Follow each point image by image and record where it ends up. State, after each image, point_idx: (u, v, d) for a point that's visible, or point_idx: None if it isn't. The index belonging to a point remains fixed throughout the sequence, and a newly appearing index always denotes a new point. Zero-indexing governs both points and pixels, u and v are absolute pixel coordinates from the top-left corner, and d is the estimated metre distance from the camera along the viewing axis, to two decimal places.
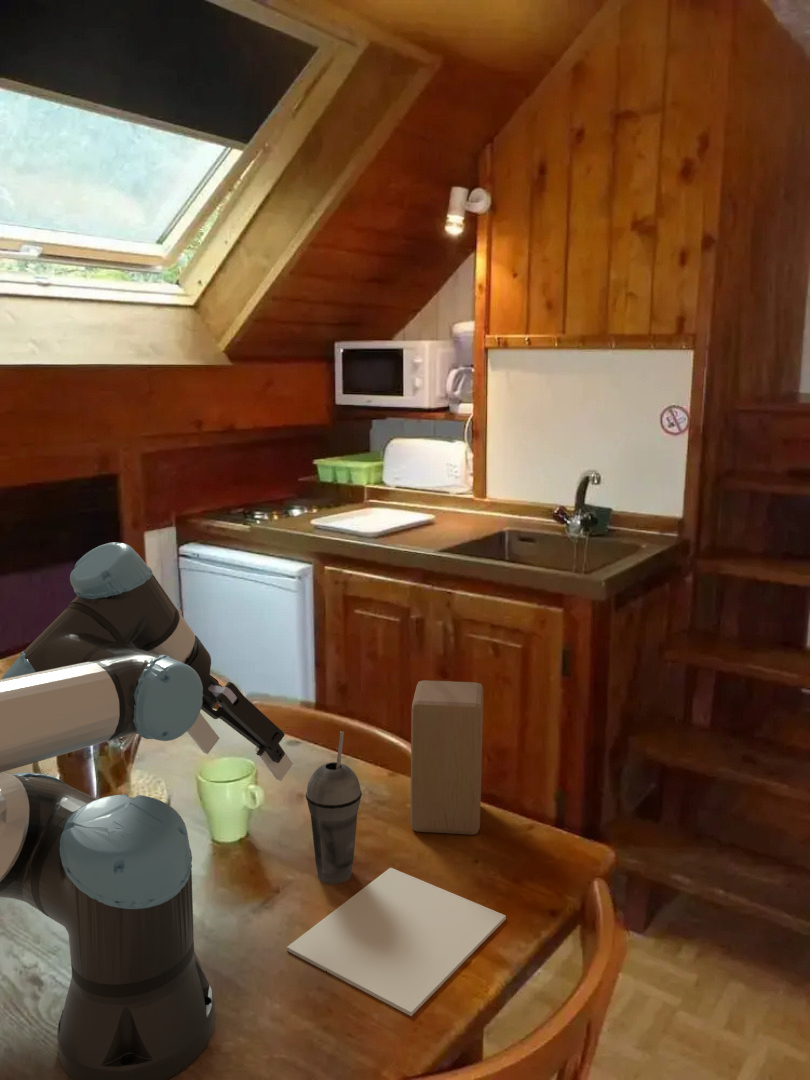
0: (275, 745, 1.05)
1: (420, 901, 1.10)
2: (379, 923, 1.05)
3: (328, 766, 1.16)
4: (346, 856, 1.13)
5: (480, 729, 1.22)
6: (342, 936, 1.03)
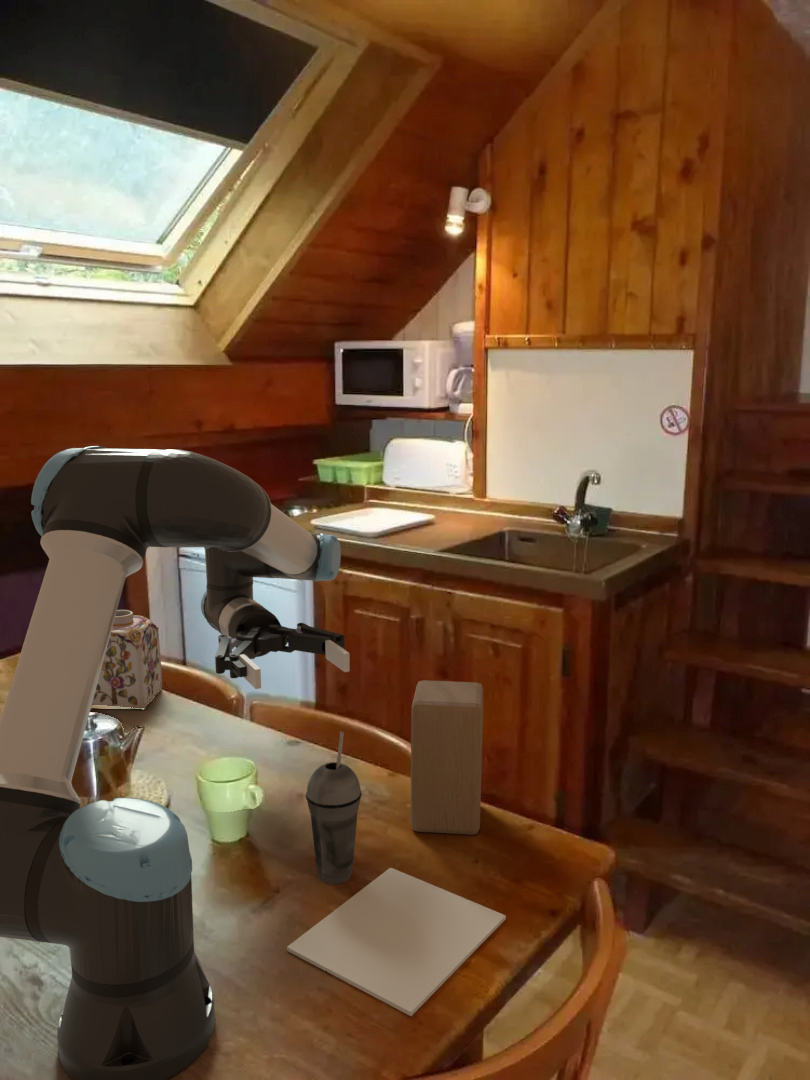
0: None
1: (420, 901, 1.10)
2: (379, 923, 1.05)
3: (328, 766, 1.16)
4: (346, 856, 1.13)
5: (480, 729, 1.22)
6: (342, 936, 1.03)
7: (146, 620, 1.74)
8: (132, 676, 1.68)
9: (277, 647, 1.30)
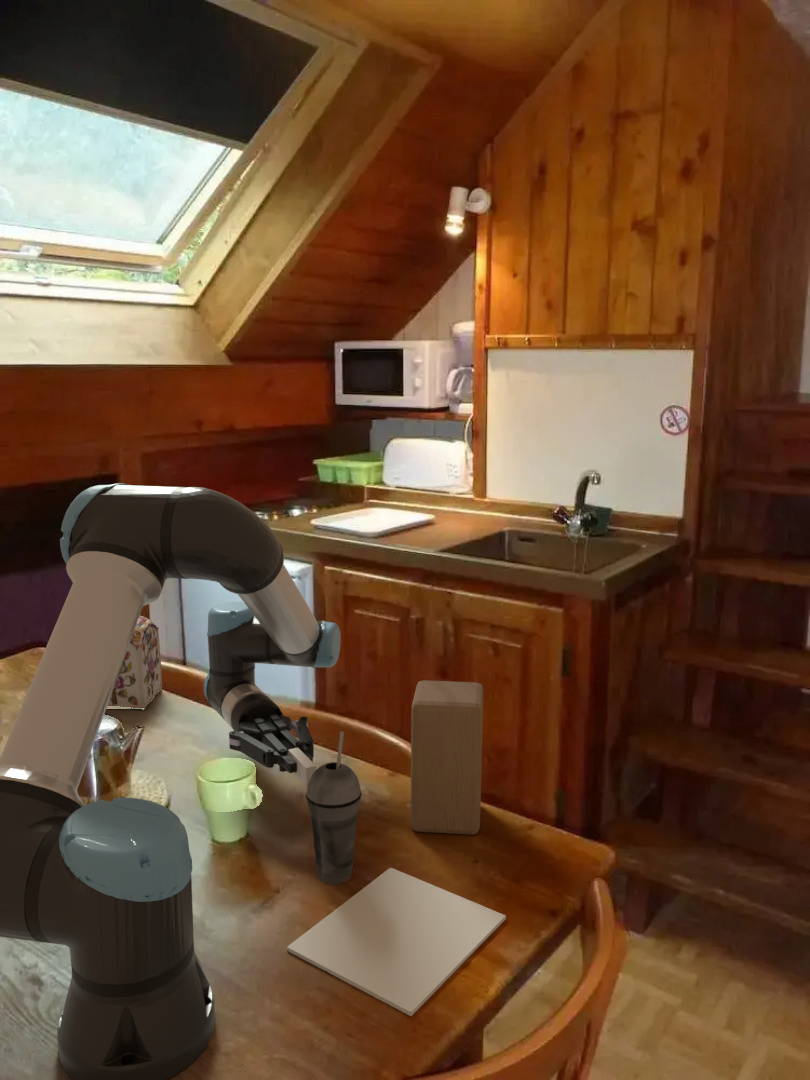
0: (312, 744, 1.29)
1: (420, 901, 1.10)
2: (379, 923, 1.05)
3: (328, 766, 1.16)
4: (346, 856, 1.13)
5: (480, 729, 1.22)
6: (342, 936, 1.03)
7: (146, 620, 1.74)
8: (132, 676, 1.68)
9: None
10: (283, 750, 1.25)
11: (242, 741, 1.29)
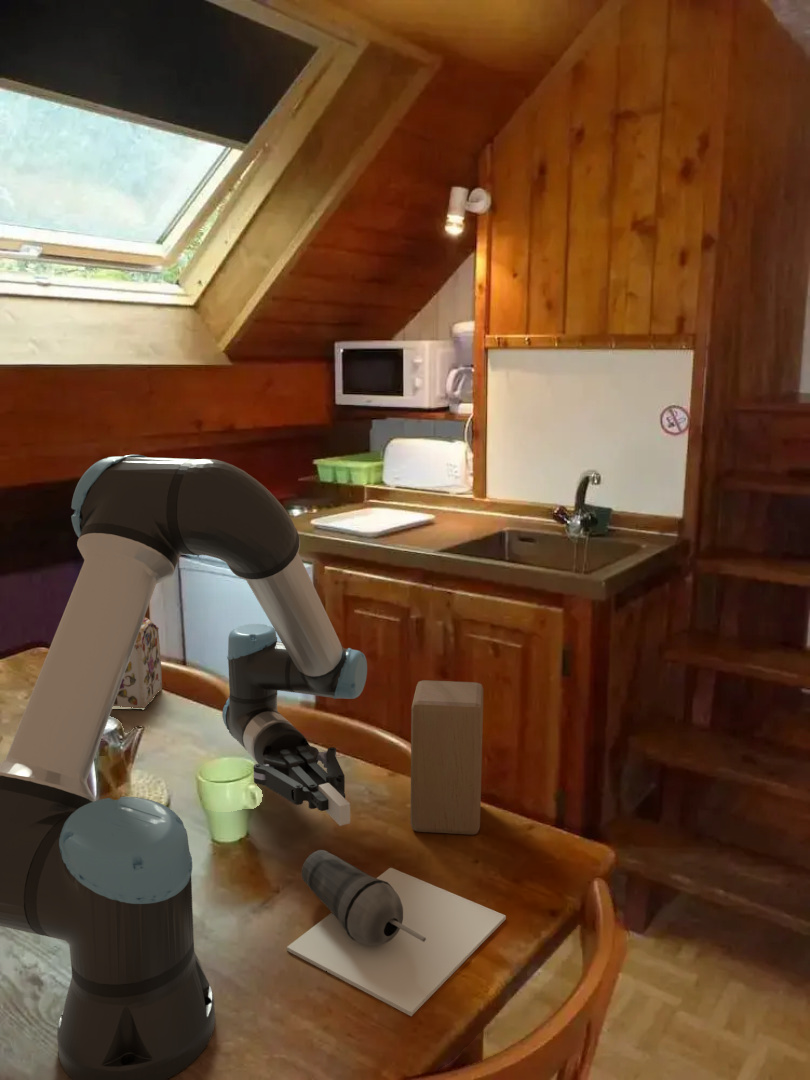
0: None
1: (420, 901, 1.10)
2: None
3: (376, 907, 0.99)
4: None
5: (480, 729, 1.22)
6: (342, 936, 1.03)
7: (146, 620, 1.74)
8: (132, 676, 1.68)
9: None
10: (313, 786, 1.17)
11: (268, 775, 1.21)
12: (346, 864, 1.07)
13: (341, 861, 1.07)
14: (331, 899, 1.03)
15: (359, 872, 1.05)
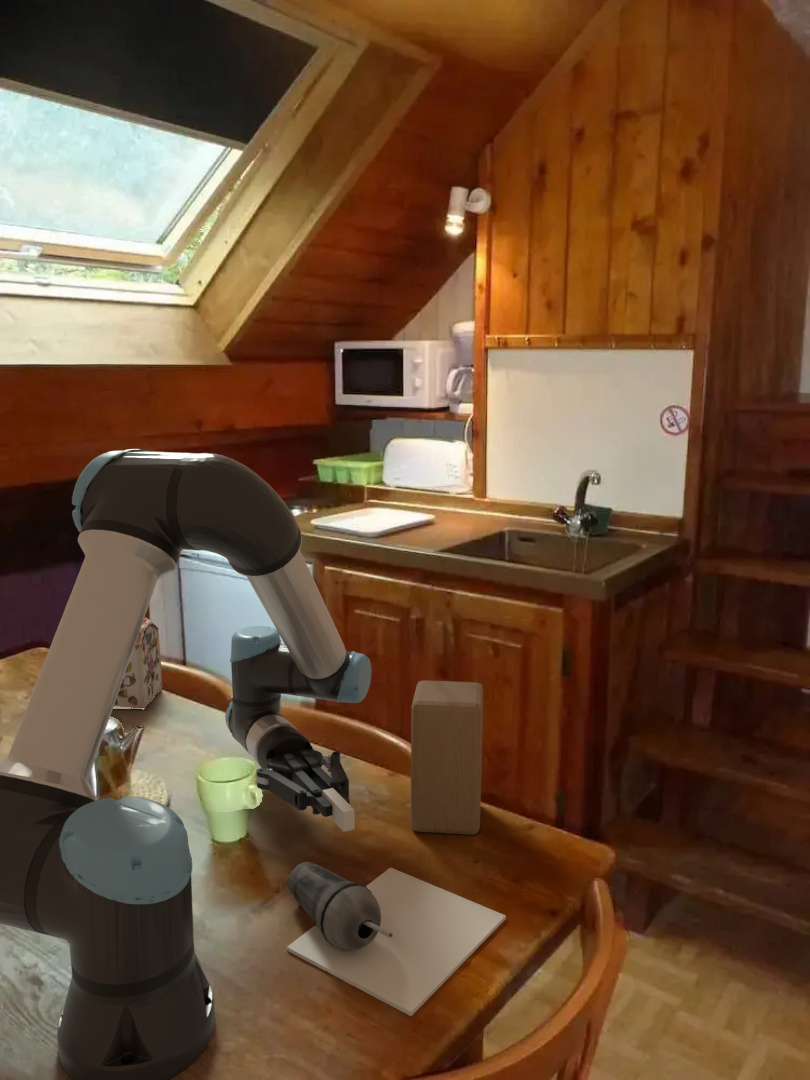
0: None
1: (420, 901, 1.10)
2: None
3: (341, 922, 0.97)
4: None
5: (480, 729, 1.22)
6: None
7: (146, 620, 1.74)
8: (132, 676, 1.68)
9: None
10: (317, 791, 1.15)
11: (271, 780, 1.19)
12: (315, 876, 1.05)
13: (312, 874, 1.06)
14: (314, 920, 1.03)
15: (325, 883, 1.03)
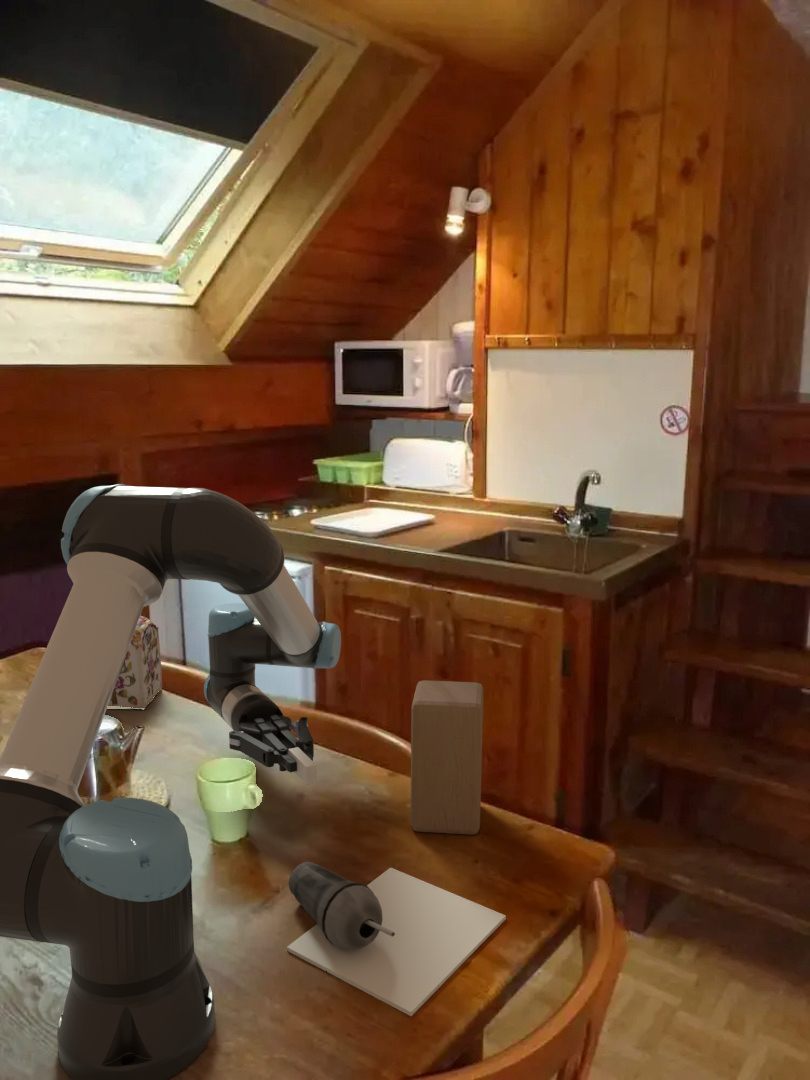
0: None
1: (420, 901, 1.10)
2: None
3: (343, 920, 0.97)
4: None
5: (480, 729, 1.22)
6: None
7: (146, 620, 1.74)
8: (132, 676, 1.68)
9: None
10: (283, 749, 1.25)
11: (242, 741, 1.29)
12: (317, 876, 1.06)
13: (313, 873, 1.06)
14: (314, 919, 1.03)
15: (327, 882, 1.03)
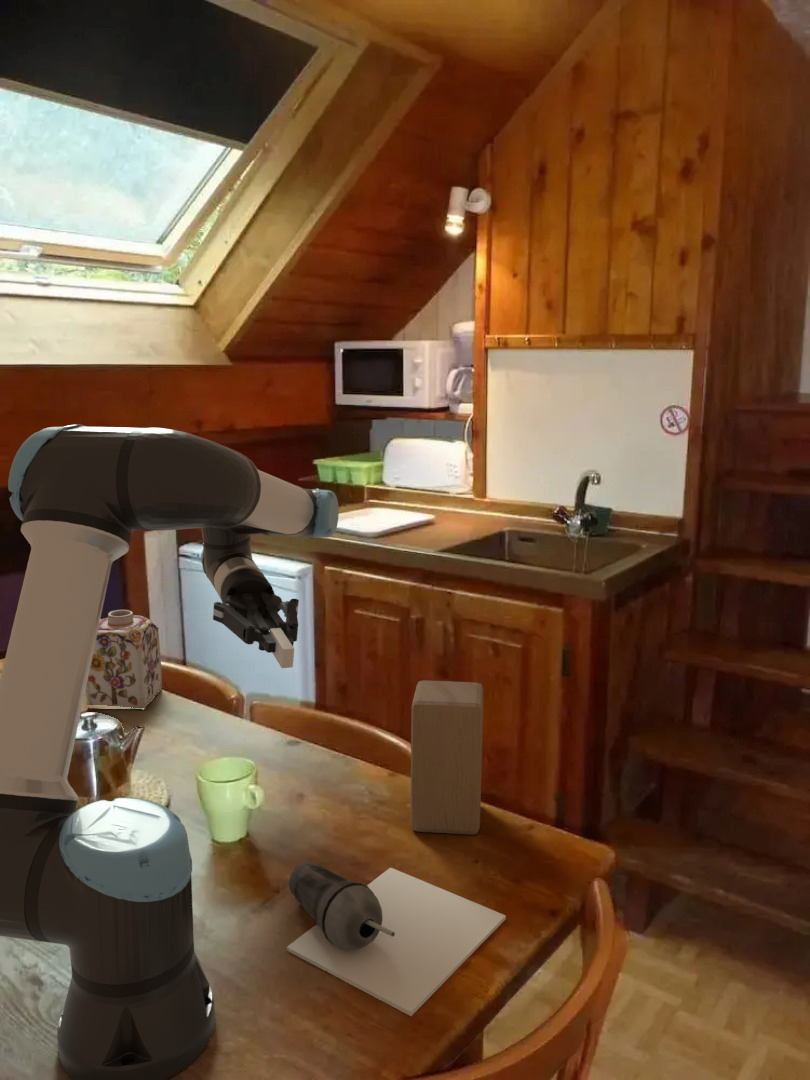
0: (297, 627, 1.23)
1: (420, 901, 1.10)
2: None
3: (343, 920, 0.97)
4: None
5: (480, 729, 1.22)
6: None
7: (146, 620, 1.74)
8: (132, 676, 1.68)
9: None
10: (265, 628, 1.19)
11: (225, 613, 1.24)
12: (317, 876, 1.06)
13: (313, 873, 1.06)
14: (314, 919, 1.03)
15: (327, 882, 1.03)
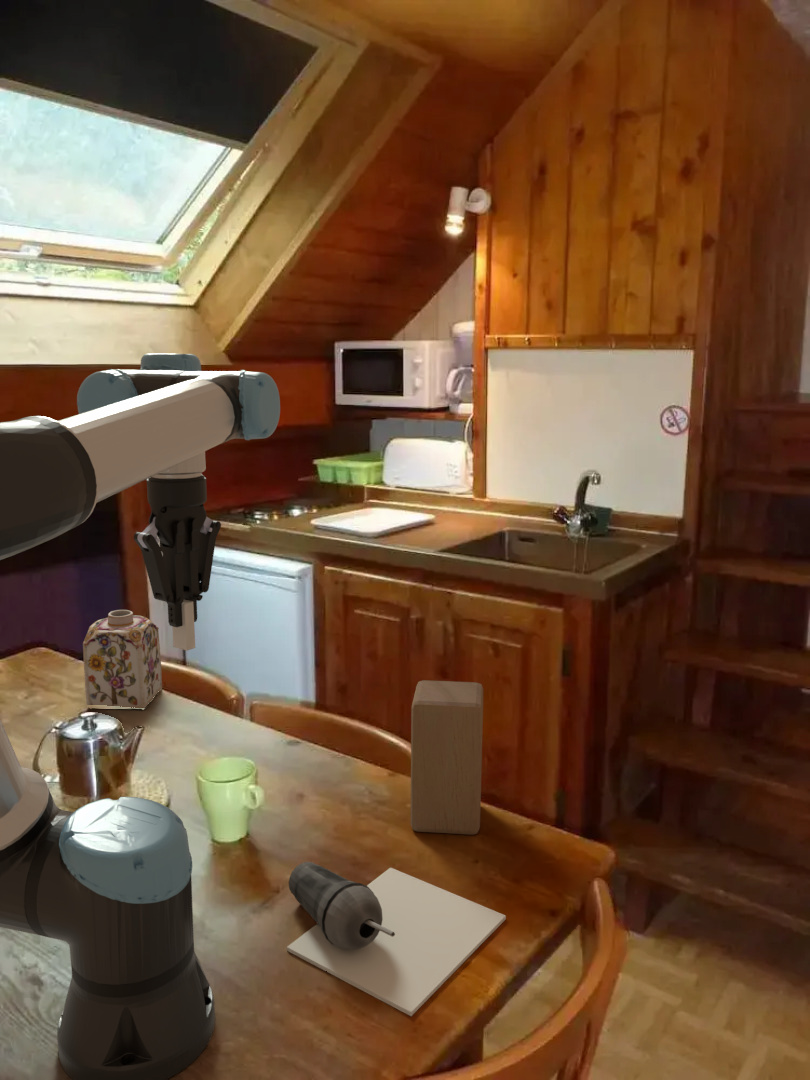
0: None
1: (420, 901, 1.10)
2: None
3: (343, 920, 0.97)
4: None
5: (480, 729, 1.22)
6: None
7: (146, 620, 1.74)
8: (132, 676, 1.68)
9: None
10: (180, 602, 1.16)
11: (151, 556, 1.12)
12: (317, 876, 1.06)
13: (313, 873, 1.06)
14: (314, 919, 1.03)
15: (327, 882, 1.03)
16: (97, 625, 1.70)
